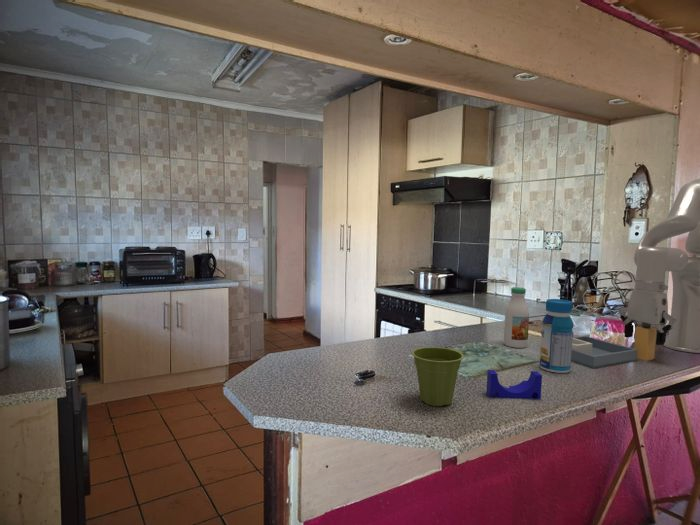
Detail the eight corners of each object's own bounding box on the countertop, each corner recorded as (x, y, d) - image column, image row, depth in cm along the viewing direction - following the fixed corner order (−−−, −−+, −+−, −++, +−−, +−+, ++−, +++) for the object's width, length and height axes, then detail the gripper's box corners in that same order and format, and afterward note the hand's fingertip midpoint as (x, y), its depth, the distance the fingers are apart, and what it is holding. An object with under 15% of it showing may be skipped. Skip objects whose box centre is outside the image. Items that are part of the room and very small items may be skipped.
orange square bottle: (641, 355, 142) (644, 319, 141) (654, 359, 138) (657, 322, 137) (633, 357, 140) (636, 320, 139) (646, 360, 137) (649, 323, 136)
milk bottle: (501, 346, 150) (504, 288, 148) (505, 341, 156) (508, 285, 155) (526, 349, 146) (529, 290, 144) (528, 344, 153) (531, 287, 151)
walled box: (584, 345, 153) (585, 331, 152) (636, 360, 136) (638, 345, 136) (542, 351, 144) (543, 336, 144) (593, 368, 128) (594, 351, 128)
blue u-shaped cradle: (533, 392, 109) (534, 369, 109) (540, 399, 105) (542, 375, 104) (484, 391, 109) (485, 367, 109) (489, 398, 105) (491, 373, 104)
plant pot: (454, 391, 108) (456, 346, 107) (468, 411, 97) (470, 361, 96) (406, 390, 108) (408, 345, 107) (414, 411, 96) (416, 361, 95)
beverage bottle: (563, 376, 121) (568, 304, 119) (533, 368, 127) (537, 300, 126) (575, 369, 127) (580, 301, 125) (546, 362, 133) (550, 297, 131)
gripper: (686, 290, 131) (680, 347, 132) (629, 283, 147) (624, 333, 148) (671, 291, 128) (665, 348, 129) (614, 283, 143) (609, 335, 145)
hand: (643, 340), depth 138 cm, fingers open, 9 cm apart
